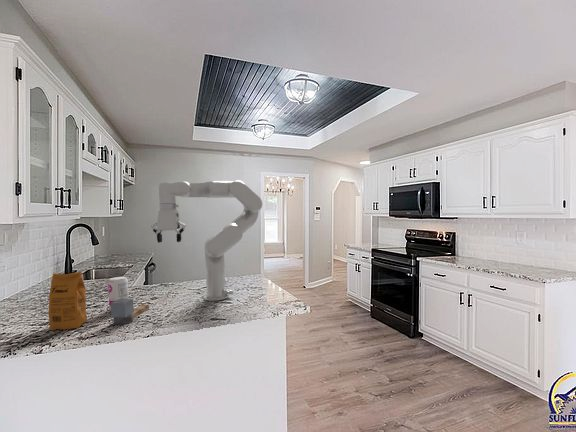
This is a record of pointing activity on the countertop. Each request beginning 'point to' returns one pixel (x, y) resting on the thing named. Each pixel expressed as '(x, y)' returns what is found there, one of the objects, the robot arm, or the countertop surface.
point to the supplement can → (117, 289)
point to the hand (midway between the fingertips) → (169, 242)
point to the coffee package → (67, 301)
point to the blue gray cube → (122, 308)
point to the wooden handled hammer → (129, 318)
